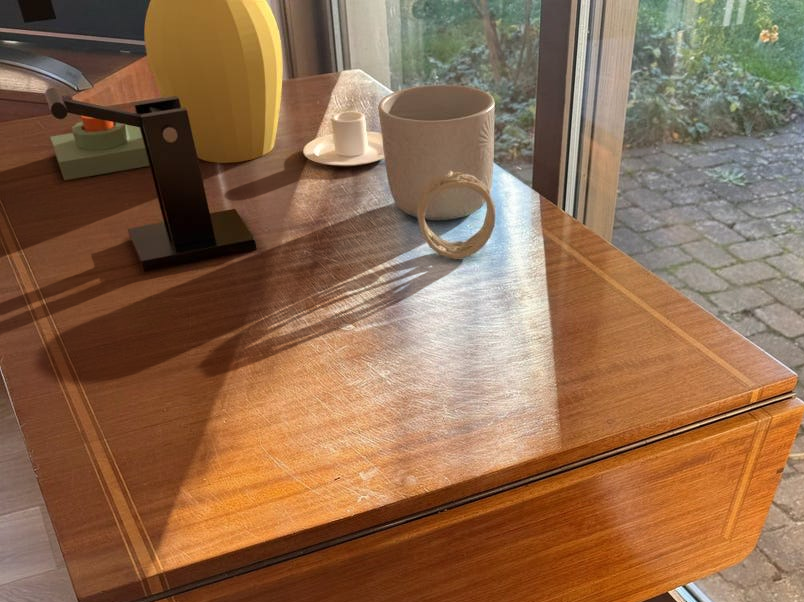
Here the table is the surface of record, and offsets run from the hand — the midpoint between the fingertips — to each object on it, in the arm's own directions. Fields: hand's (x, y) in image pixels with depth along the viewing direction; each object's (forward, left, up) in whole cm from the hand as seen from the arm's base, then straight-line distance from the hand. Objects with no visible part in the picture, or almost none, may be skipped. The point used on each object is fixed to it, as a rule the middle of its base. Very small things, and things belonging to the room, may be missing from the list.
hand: (35, 3), depth 90 cm
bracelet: (+33, -19, -23) cm, 45 cm away
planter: (+36, -7, -23) cm, 44 cm away
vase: (+19, +23, -23) cm, 38 cm away
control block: (+4, +27, -23) cm, 36 cm away
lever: (+4, -4, -10) cm, 12 cm away
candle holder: (+32, +14, -23) cm, 42 cm away
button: (+4, +27, -19) cm, 34 cm away
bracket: (+8, -4, -23) cm, 25 cm away
